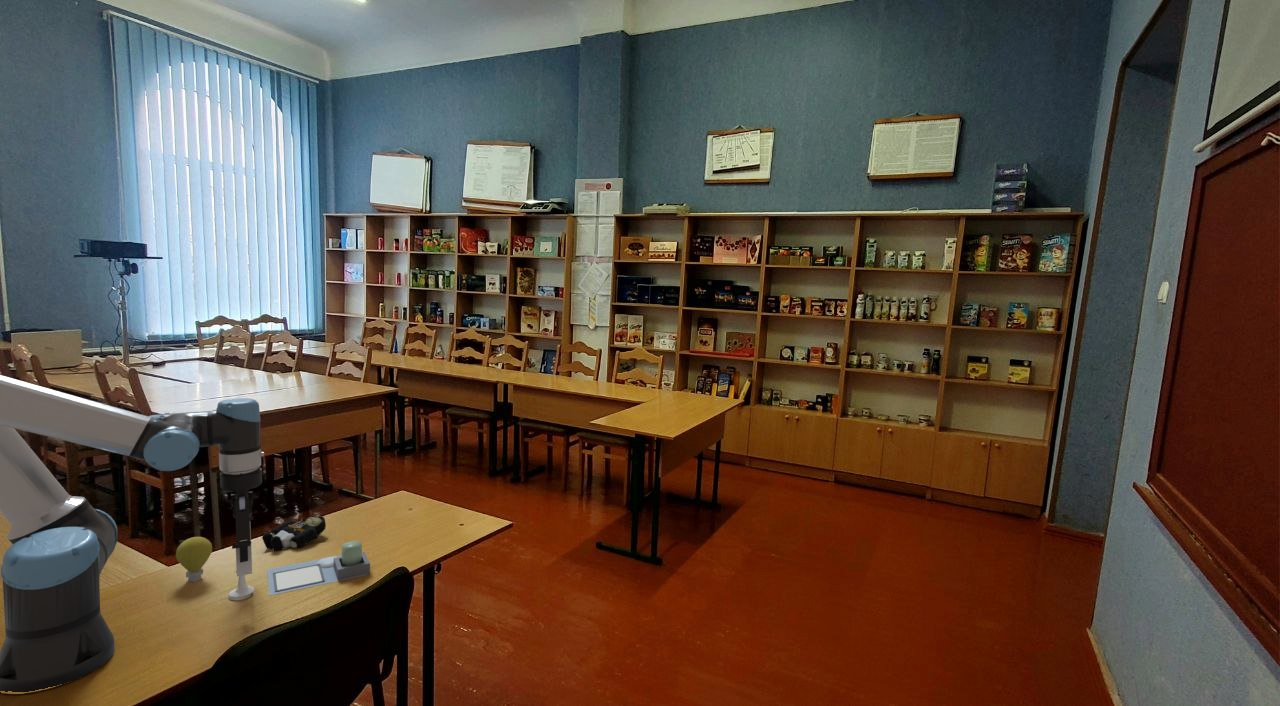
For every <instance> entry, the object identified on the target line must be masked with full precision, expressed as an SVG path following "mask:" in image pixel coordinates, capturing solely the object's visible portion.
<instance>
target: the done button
mask: <svg viewBox="0 0 1280 706" xmlns="http://www.w3.org/2000/svg"><path fill="white" fill-rule="evenodd" d="M362 552H363V543H362V542H361V541H360V540H359V541H358V540H353V541H347V542H345V543H343V544H341V555H342V566H350V565H355V564H360V563H361V562H362Z"/></svg>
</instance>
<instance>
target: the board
mask: <svg viewBox="0 0 1280 706" xmlns="http://www.w3.org/2000/svg"><path fill="white" fill-rule="evenodd" d="M266 571H267V581H268V593H269V596H270V597H271V596H275V595H280V594H284V593H288V592H294V591H300V590H303V589H308V588H312V587H318V586H322V585H327V584H331V583H335V582H340V581H344V580H345V581H346V580H350V579H354V578H359V577H364V576H369V574H371V562H370V560H369V558H368V556H367V554H366V552H365V551H364V552H363V551H362V562H361V563H360V564H355V565H350V566H342V554H340V555H335V556H328V557H324V558H319V559H313V560H309V561H305V562H298V563H294V564H288V565H283V566H277V567H272V568H271V567H270V568H267V569H266Z"/></svg>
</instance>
